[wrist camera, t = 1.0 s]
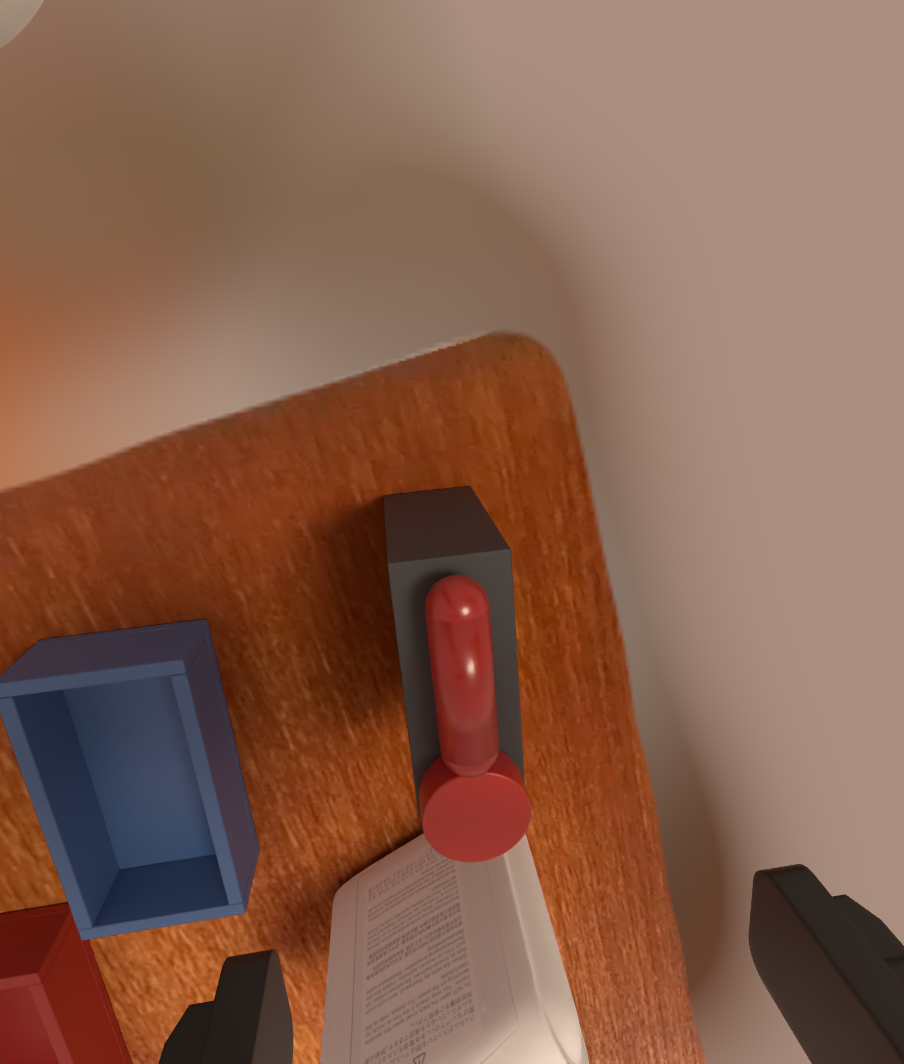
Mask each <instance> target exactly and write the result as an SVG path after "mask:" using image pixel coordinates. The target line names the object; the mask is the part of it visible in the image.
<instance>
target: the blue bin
mask: <svg viewBox="0 0 904 1064" xmlns="http://www.w3.org/2000/svg"><path fill="white" fill-rule="evenodd" d="M0 714H1V717H2V720H3V723H4V726H5V728H6V731H7V734H8V737H9V739H10V742H11V745H12V748H13V751H14V753H15V756H16V759H17V762H18V764H19V767H20V770H21V773H22V776H23V778H24V781H25V784H26V787H27V789H28V792H29V795H30V798H31V801H32V803H33V806H34V809H35V812H36V815H37V817H38V820H39V823H40V826H41V828H42V831H43V834H44V837H45V840H46V842H47V845H48V848H49V851H50V853H51V856H52V859H53V862H54V865H55V867H56V870H57V873H58V876H59V878H60V881H61V884H62V887H63V890H64V892H65V895H66V898H67V901H68V903H69V906H70V909H71V912H72V915H73V917H74V920H75V923H76V926H77V928H78V929H79V930H78V931H79V934H80V937H81V940H88V939H94V938H100V937H106V936H112V935H119V934H125V933H131V932H137V931H143V930H149V929H155V928H161V927H167V926H173V925H179V924H185V923H191V922H197V921H203V920H209V919H215V918H221V917H227V916H233V915H239V914H244V913H246V908H247V904H248V899H249V895H250V890H251V886H252V881H253V877H254V872H255V868H256V864H257V859H258V855H259V850H260V849H259V844H258V840H257V836H256V831H255V827H254V823H253V818H252V814H251V809H250V805H249V801H248V796H247V792H246V787H245V783H244V779H243V774H242V770H241V765H240V761H239V757H238V752H237V748H236V743H235V739H234V735H233V730H232V726H231V722H230V717H229V713H228V708H227V704H226V700H225V695H224V691H223V686H222V682H221V678H220V673H219V669H218V664H217V660H216V656H215V651H214V647H213V642H212V638H211V634H210V629H209V625H208V620H207V619H202V620H194V621H186V622H178V623H170V624H162V625H154V626H146V627H138V628H130V629H122V630H114V631H106V632H98V633H90V634H82V635H74V636H66V637H59V638H51V639H43V640H39V641H38V642H37V643H36V644H34V646H33V647H31V648H30V649H29V650H28V651H27V652H26V653H25V654H24V655H23V656H22V657H20V658H19V659H18V660H17V661H16V662H15V663H14V664H13V665H12V666H11V667H9V668H8V669H7V670H6V671H5V672H4V673H3V674H2V675H1V676H0Z"/></svg>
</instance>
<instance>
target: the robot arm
mask: <svg viewBox="0 0 904 1064" xmlns="http://www.w3.org/2000/svg"><path fill="white" fill-rule="evenodd" d="M749 945H750V951H751V955H752V958H753V961H754V964H755V966H756V969H757V971H758V973H759V976H760V977H761V979H762V981H763V983H764V985H765V986H766V988H767V990H768V991H769V993H770V995H771V996H772V998H773V1000H774V1001H775V1003H776V1005H777V1006H778V1008H779V1010H780V1011H781V1013H782V1015H783V1016H784V1018H785V1020H786V1021H787V1023H788V1025H789V1026H790V1028H791V1030H792V1031H793V1033H794V1035H795V1036H796V1038H797V1040H798V1041H799V1043H800V1045H801V1046H802V1048H803V1050H804V1051H805V1053H806V1055H807V1056H808V1058H809V1060H810V1061H811V1063H812V1064H904V946H903V945H902V943H901V942H900V941H899V940H898V939H897V938H896V937H895V935H894V934H893V933H892V932H891V931H890V930H889V929H888V927H887V926H886V925H885V924H884V923H883V922H882V920H880V919H879V918H878V917H876V916H875V915H873V914H872V913H871V912H869V911H868V910H866V909H865V908H864V907H862V906H861V905H860V904H858V903H857V902H855V901H854V900H853V899H851V898H849V897H848V896H847V895H839V896H833V897H832V896H831V895H830V894H829V892H828V891H827V890H826V888H825V887H824V886H823V885H822V884H821V883H820V881H819V880H818V879H817V877H816V876H815V875H814V874H813V873H812V872H811V871H810V870H809V869H808V868H807V867H805V866H804V865H801V864H796V865H790V866H784V867H778V868H772V869H766V870H760V871H757V872H756V873H755V875H754V879H753V890H752V901H751V913H750V925H749ZM292 1060H293V1024H292V1016H291V1011H290V1006H289V1002H288V997H287V993H286V988H285V984H284V979H283V975H282V970H281V966H280V961H279V957H278V953H277V951H276V950H275V949H273V950H267V951H261V952H255V953H249V954H243V955H237V956H231V957H228V958H227V959H226V960H225V962H224V964H223V967H222V970H221V974H220V978H219V982H218V986H217V991H216V995H215V999H214V1001H209V1002H204V1003H198V1004H192V1005H189V1007H188V1008H187V1010H186V1011H185V1013H184V1015H183V1016H182V1018H181V1019H180V1021H179V1022H178V1024H177V1025H176V1027H175V1029H174V1030H173V1032H172V1033H171V1035H170V1036H169V1038H168V1039H167V1041H166V1043H165V1044H164V1048H163V1051H162V1054H161V1058H160V1061H159V1064H292Z"/></svg>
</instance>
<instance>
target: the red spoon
mask: <svg viewBox="0 0 904 1064" xmlns="http://www.w3.org/2000/svg"><path fill="white" fill-rule="evenodd" d="M425 617H426V626H427V635H428V645H429V654H430V663H431V672H432V682H433V691H434V700H435V709H436V719H437V728H438V737H439V747H440V753H441V756H439V757H438V758H437V759H436V760H435V761H433V762H432V763H431V765H430V766H429V767H428V768H427V770H426V772H425V773H424V775H423V777H422V780H421V783H420V788H419V800H420V810H421V820H422V828H423V832H424V835H425V838H426V839H427V841H428V843H429V844H430V845H431V846H432V848H433V849H435V850H436V851H437V852H438V853H440V854H441V855H442V856H445V857H447V858H449V859H452V860H455V861H459V862H467V863H471V862H482V861H487V860H490V859H493V858H496V857H498V856H500V855H502V854H504V853H506V852H507V851H509V850H510V849H512V848H513V847H514V846H515V845H516V844H517V843H518V842H519V841H520V840H521V839H522V837H523V836H524V834H525V833H526V830H527V828H528V826H529V823H530V819H531V803H530V800H529V797H528V794H527V791H526V788H525V785H524V782H523V779H522V776H521V773H520V770H519V768H518V766H517V764H516V763H515V762H514V760H513V759H512V758H511V757H510V756H508V755H507V754H506V753H504V752H503V751H501V750H499V734H498V720H497V706H496V692H495V679H494V665H493V651H492V637H491V624H490V610H489V602H488V597H487V595H486V592H485V591H484V589H483V588H482V586H481V585H480V584H479V583H478V582H476V581H475V580H473V579H472V578H470V577H467V576H463V575H450V576H447V577H444V578H442V579H440V580H439V581H437V582H436V583H435V584H434V585H433V586H432V587H431V589H430V590H429V592H428V594H427V597H426V601H425Z"/></svg>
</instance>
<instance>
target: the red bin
mask: <svg viewBox="0 0 904 1064" xmlns="http://www.w3.org/2000/svg"><path fill="white" fill-rule="evenodd" d="M78 930H79V929H78V928H77V926H76V923H75V920H74V917H73V915H72V912H71V909H70V906H69V903H66V904H60V905H53V906H47V907H41V908H35V909H29V910H22V911H16V912H10V913H4V914H0V1064H132V1062H131V1059H130V1056H129V1053H128V1050H127V1047H126V1045H125V1042H124V1039H123V1036H122V1033H121V1031H120V1028H119V1025H118V1022H117V1019H116V1016H115V1014H114V1011H113V1008H112V1005H111V1002H110V1000H109V997H108V994H107V991H106V988H105V986H104V983H103V980H102V977H101V974H100V971H99V969H98V966H97V963H96V960H95V957H94V955H93V952H92V949H91V946H90V943H89V940H81V937H80V934H79V931H78Z"/></svg>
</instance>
